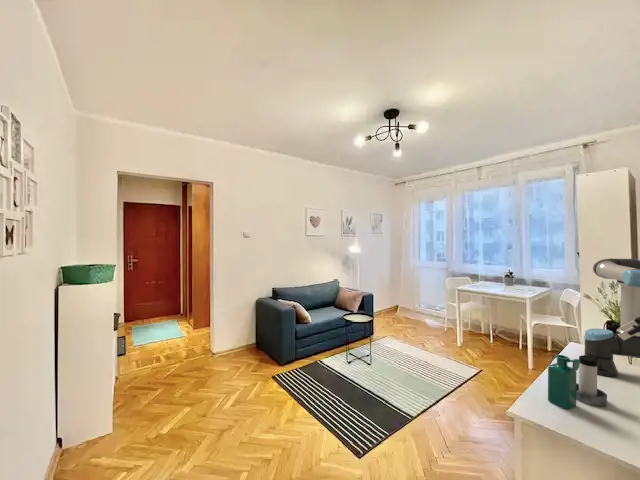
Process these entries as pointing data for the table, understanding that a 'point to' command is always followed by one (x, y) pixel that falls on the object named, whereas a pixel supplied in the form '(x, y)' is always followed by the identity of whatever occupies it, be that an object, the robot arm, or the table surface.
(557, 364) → the green bottle
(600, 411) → the table surface
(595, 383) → the travel mug
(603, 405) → the ring collar
